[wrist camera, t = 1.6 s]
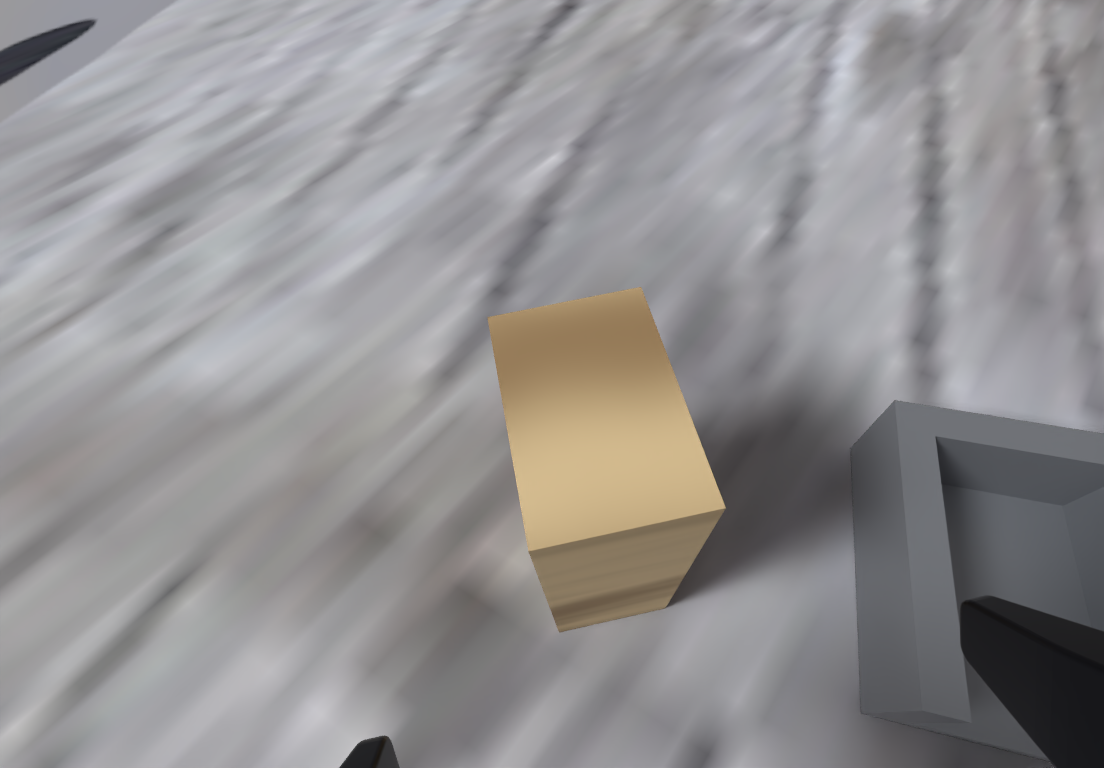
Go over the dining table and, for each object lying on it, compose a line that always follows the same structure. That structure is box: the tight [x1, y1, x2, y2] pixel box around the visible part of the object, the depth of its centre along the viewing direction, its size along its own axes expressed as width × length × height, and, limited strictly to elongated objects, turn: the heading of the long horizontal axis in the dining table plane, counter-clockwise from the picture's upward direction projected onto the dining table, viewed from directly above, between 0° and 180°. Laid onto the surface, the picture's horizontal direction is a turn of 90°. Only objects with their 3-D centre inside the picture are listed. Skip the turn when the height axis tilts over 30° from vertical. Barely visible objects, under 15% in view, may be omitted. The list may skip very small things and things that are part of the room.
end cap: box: [851, 400, 1104, 762], centre depth 18 cm, size 10×8×4 cm
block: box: [488, 287, 726, 632], centre depth 17 cm, size 6×4×11 cm, turn 11°
